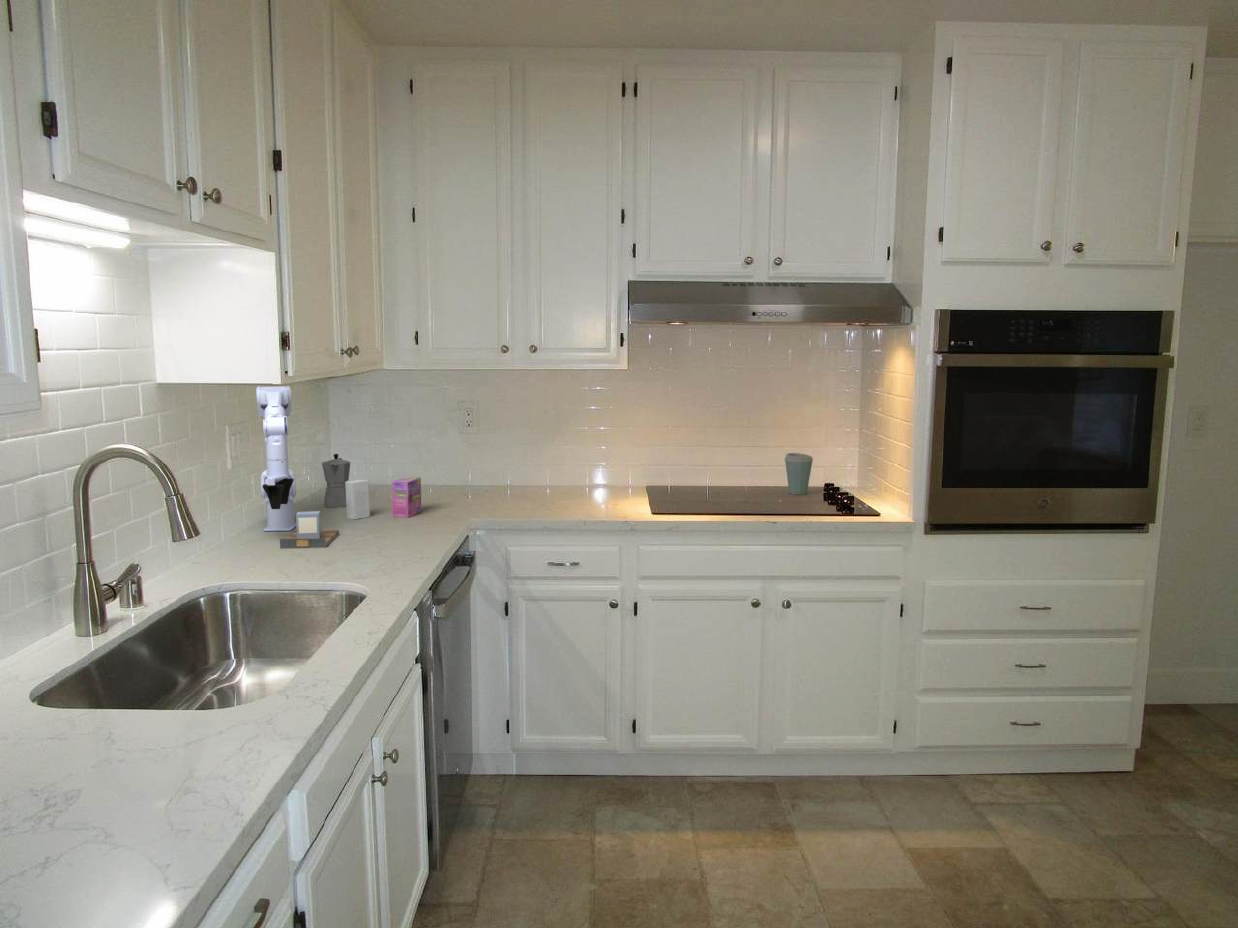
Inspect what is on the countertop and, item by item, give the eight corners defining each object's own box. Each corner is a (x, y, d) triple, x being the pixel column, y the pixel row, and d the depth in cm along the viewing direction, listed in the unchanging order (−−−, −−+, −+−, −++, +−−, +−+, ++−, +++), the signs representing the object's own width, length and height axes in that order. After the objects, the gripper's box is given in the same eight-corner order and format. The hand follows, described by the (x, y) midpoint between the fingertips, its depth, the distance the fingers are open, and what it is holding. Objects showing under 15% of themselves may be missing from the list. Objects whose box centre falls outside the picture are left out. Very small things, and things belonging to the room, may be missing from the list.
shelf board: (296, 534, 251) (296, 530, 251) (338, 533, 252) (338, 529, 252) (281, 547, 235) (281, 543, 235) (326, 546, 236) (326, 542, 236)
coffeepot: (348, 508, 290) (346, 456, 288) (319, 509, 289) (317, 456, 287) (356, 500, 306) (354, 450, 303) (328, 501, 304) (326, 450, 302)
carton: (299, 536, 244) (297, 511, 243) (321, 535, 245) (320, 511, 244) (297, 539, 240) (295, 514, 239) (319, 538, 241) (318, 513, 240)
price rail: (281, 547, 235) (280, 538, 235) (326, 546, 236) (325, 537, 236) (279, 548, 234) (279, 539, 234) (325, 547, 235) (324, 538, 235)
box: (408, 518, 276) (407, 481, 274) (392, 517, 277) (391, 481, 275) (422, 511, 286) (421, 476, 284) (406, 511, 287) (405, 476, 285)
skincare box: (362, 515, 280) (361, 479, 278) (370, 517, 277) (368, 480, 275) (346, 518, 275) (344, 481, 273) (353, 520, 272) (352, 482, 271)
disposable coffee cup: (816, 492, 326) (817, 453, 324) (806, 496, 317) (807, 456, 315) (789, 490, 332) (790, 451, 330) (779, 494, 323) (780, 454, 321)
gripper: (270, 456, 249) (272, 501, 251) (254, 462, 235) (257, 511, 237) (295, 455, 250) (297, 501, 252) (281, 462, 236) (283, 511, 238)
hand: (279, 506), depth 244 cm, fingers open, 7 cm apart
